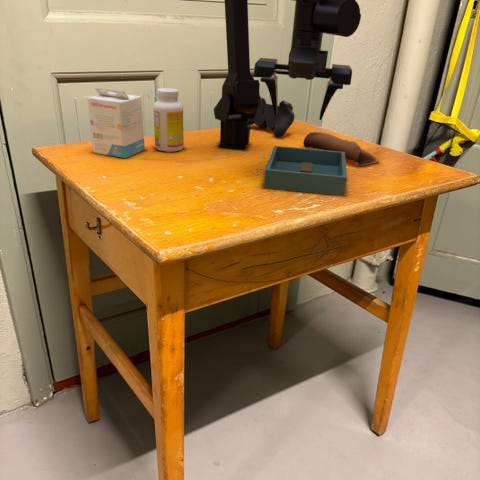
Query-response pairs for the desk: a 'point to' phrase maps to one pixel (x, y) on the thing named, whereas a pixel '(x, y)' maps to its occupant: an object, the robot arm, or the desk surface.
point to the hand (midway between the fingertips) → (297, 117)
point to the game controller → (273, 117)
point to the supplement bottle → (168, 121)
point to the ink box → (116, 123)
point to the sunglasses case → (339, 147)
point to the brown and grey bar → (306, 167)
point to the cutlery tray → (290, 178)
